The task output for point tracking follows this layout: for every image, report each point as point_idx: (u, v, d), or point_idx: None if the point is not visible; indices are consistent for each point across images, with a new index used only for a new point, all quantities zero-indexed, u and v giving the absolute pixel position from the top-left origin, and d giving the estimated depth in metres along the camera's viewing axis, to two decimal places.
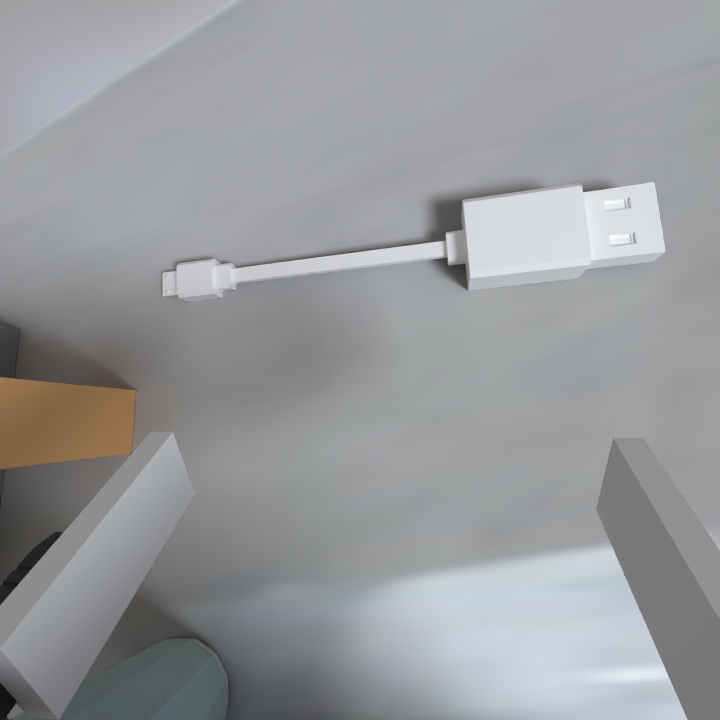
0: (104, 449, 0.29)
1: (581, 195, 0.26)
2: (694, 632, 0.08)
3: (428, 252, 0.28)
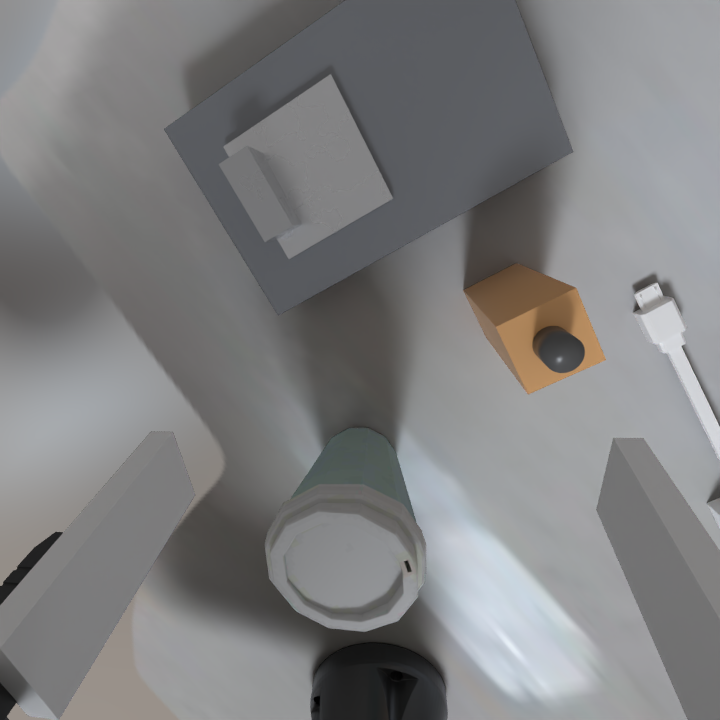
0: None
1: None
2: (694, 632, 0.08)
3: None
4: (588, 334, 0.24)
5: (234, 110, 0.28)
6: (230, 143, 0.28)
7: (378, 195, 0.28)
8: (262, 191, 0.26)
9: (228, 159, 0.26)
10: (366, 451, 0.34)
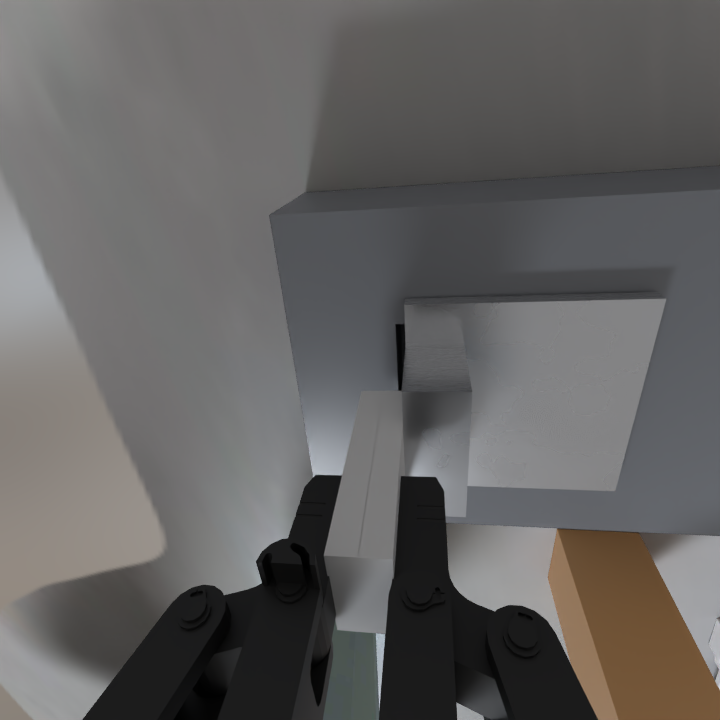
0: None
1: None
2: None
3: None
4: None
5: (412, 252, 0.15)
6: (420, 307, 0.15)
7: (597, 478, 0.17)
8: (450, 459, 0.14)
9: (424, 394, 0.13)
10: (353, 684, 0.26)
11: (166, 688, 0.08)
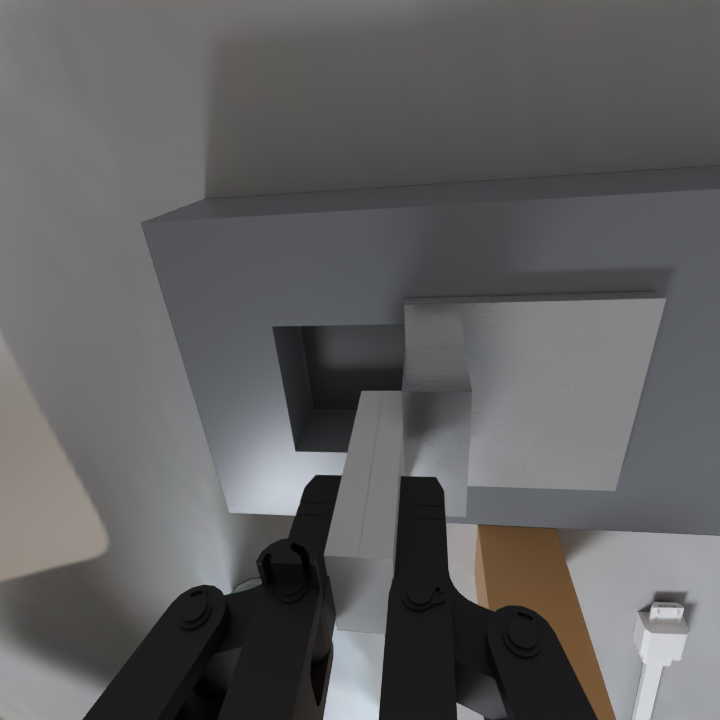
0: None
1: None
2: None
3: None
4: None
5: (277, 257, 0.15)
6: (420, 307, 0.15)
7: (598, 478, 0.17)
8: (450, 459, 0.14)
9: (424, 394, 0.13)
10: None
11: (166, 688, 0.08)
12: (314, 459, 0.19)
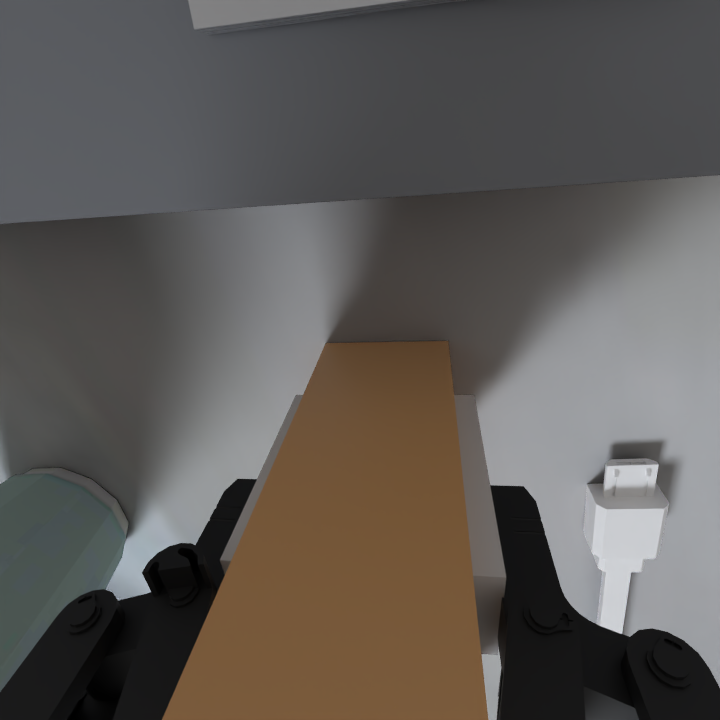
0: None
1: None
2: None
3: None
4: None
5: None
6: None
7: None
8: None
9: None
10: None
11: (57, 690, 0.08)
12: None
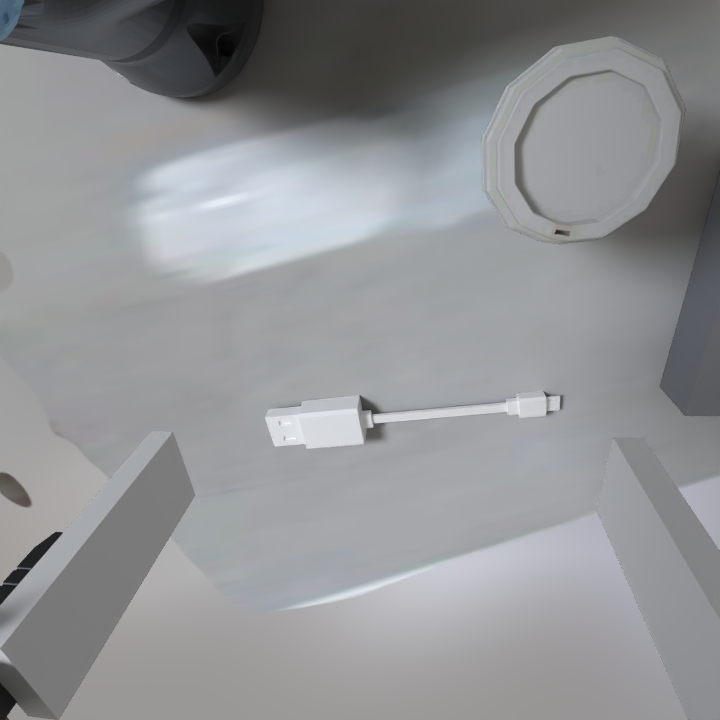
0: None
1: (306, 444, 0.51)
2: (694, 632, 0.08)
3: (382, 418, 0.50)
4: None
5: None
6: None
7: None
8: None
9: None
10: None
11: None
12: None
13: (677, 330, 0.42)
